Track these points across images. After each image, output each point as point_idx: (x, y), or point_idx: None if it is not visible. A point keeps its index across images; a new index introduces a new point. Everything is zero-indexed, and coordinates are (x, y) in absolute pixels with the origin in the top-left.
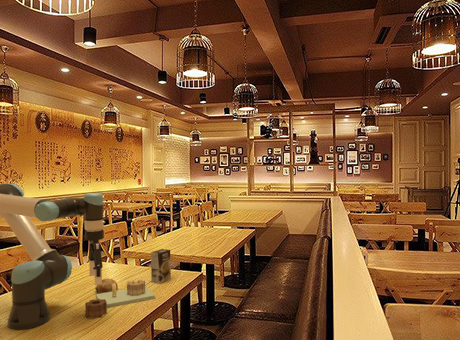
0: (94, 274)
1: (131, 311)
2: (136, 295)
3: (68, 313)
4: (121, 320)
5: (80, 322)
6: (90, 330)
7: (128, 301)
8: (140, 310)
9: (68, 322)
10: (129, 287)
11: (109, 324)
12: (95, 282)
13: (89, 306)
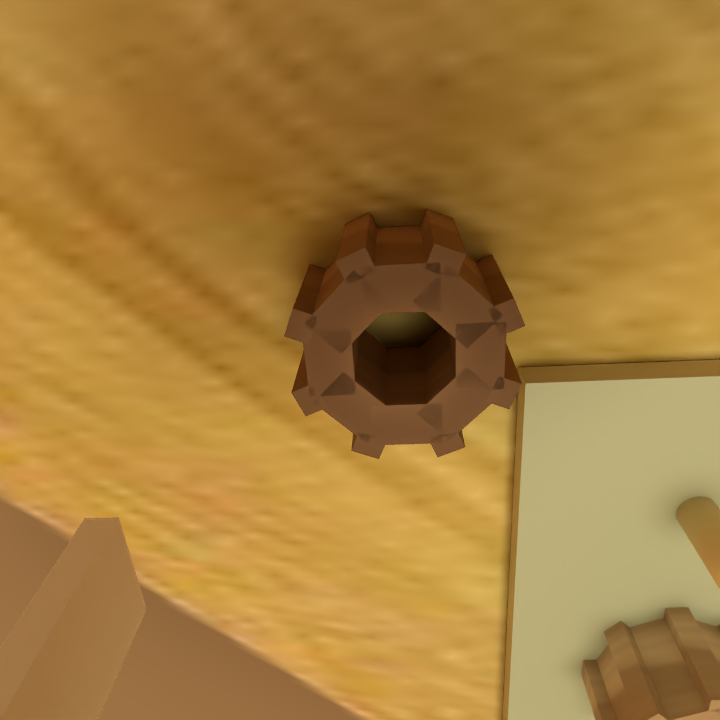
0: (9, 694)
1: (322, 557)
2: (595, 656)
3: (592, 20)
4: (164, 471)
5: (252, 146)
6: (26, 225)
7: (513, 582)
8: (312, 609)
9: (304, 15)
10: (681, 682)
11: (112, 382)
12: (65, 560)
13: (340, 280)
